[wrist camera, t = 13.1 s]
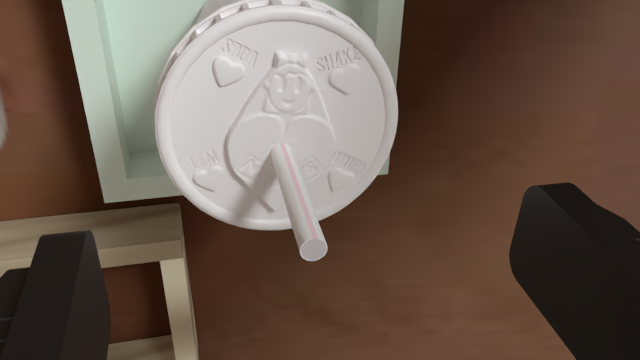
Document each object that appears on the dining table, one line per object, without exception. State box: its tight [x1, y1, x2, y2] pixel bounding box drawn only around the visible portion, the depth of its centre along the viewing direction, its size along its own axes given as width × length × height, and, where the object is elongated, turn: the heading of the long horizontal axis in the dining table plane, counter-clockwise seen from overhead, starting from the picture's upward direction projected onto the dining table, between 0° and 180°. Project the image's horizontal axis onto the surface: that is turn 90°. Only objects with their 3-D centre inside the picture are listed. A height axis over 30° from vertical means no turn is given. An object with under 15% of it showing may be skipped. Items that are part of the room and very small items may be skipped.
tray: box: [62, 0, 404, 203], centre depth 22 cm, size 12×12×3 cm
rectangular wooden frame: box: [0, 203, 199, 360], centre depth 27 cm, size 10×10×3 cm
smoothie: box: [153, 0, 398, 261], centre depth 17 cm, size 6×6×14 cm
